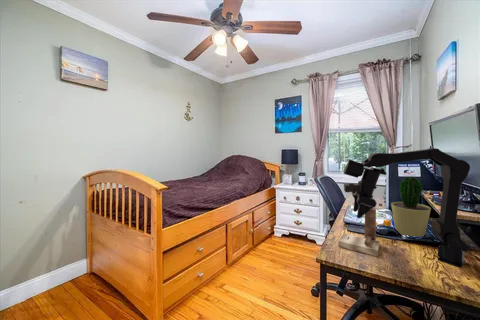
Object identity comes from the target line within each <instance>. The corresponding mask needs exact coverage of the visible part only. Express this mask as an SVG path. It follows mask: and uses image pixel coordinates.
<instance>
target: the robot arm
mask: <svg viewBox="0 0 480 320" xmlns="http://www.w3.org/2000/svg"><path fill="white" fill-rule="evenodd" d="M420 160H421V161H422V160H431V162H433V163H434V164H435V165H437V166H439V169H440V176H441V178H442V180H443V185H442V186H443V187H442V195H441V202H440V208H439V209H440V210H439V211H440V213H439V216H438V218H437V219H436V220H435V219H432V220H431V227H430V229H431V231H432V234H434V236H436V238H438V239H439V241H441V242H439V246H437V260H438V261H440V262H443V263H447V264H449V265H451V266H452V265H453V266H456V267H459V268H462V267H463V266H464V265H465V264H466V260H465V253H466V252H468V251H469V249H470V245H468V244H467V243H466V242H465V241H463V239H462V236H461V229H460V227H459V225H458V222H457V220H458V212H459V211H458V210H459V205H460V204H459V203H460V198H461V197H460V196H461V189H462V184H463V183H464V182H465V180H466V179H467V178H468V176H469V173H470V170H471V165H470V164H469V163H468V162H467V160H463V159H458V158H456V157H454V156H452V155H450V154H448V153H446V152H443V151H442V150H441V149H439V148H435V147H428V148H426V149H418V150H409V151H402V152H401V151H400V152H394V153H392V152H391V153H390V152H388V153H387V152H372V153H370V154H369V155H368V157H367V158H366V159H364V161H362V162H359V161H354V160H353V159H348V161H347V163H346V165H345V166H344V169H343V174H344V175H345V176H349V177H353V178H357V179H358V178H359V177H361V179H360V180H358V182H357V183H354V182H352V183H350V182H346V183H343V190H344V193H351V196H352V198H353V199H354V202H353V212H355V213H356V212H357V213H356V218H357V219H361V218H362V217H363V216H365V214H366V213H367V212H368V211H369V210H371V209H372V208H376V206H377V203H378V202H377V201H376V200H375V198H373V197H374V195H373V194H374V191H375V190H376V189H377V188H378V187H377V186H376V185H378V184H377V183H378V181H379V178H380V175H384V176H387V173H386V171H385V168H383V167H386V166H390V165H392V164H396V163H403V162H404V163H405V162H412V161H420Z"/></svg>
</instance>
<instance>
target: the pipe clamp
mask: <svg viewBox="0 0 480 320" xmlns="http://www.w3.org/2000/svg"><path fill="white" fill-rule="evenodd" d="M377 224H379V223H378V222H377V221H376V225H377ZM381 224H382V225H385V226H392V227H393V228H394V226H393V225H392V221H391V220H389V219H385V220H383V222H382V223H381Z"/></svg>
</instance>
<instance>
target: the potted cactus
mask: <svg viewBox="0 0 480 320" xmlns="http://www.w3.org/2000/svg"><path fill="white" fill-rule="evenodd" d="M398 192H399V193H398V194H400V199H401V201H396V202H395V201H394V202H391V203H390V204H391V210H392V217H393V223H394V228H395V229H396V230H397V231H398V232H399V233H400V234H401V235H408V236H413V237H414V236H415V237H417V236H424V235H425V236H426V232H427V228H428V223H429V218H430V214H431V210H432V208H431V207H430V206H428V205H425V204H422V203H421V204H420V203H419V201H420V196H421V195H422V194H424V191H423V183H421V181H420V180H419V179H418V178H417V177H414V176H406V177H405V178H403V179H402V180H401V181H400V182H399V190H398ZM395 229H394V230H395Z"/></svg>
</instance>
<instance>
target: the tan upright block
mask: <svg viewBox="0 0 480 320" xmlns="http://www.w3.org/2000/svg"><path fill="white" fill-rule="evenodd" d="M376 222H377V208H376V207H374V208H372V209H371V210H369V211H368V212H367V213H366V214H364V238H366V239H365V242H364V245H368V246H369V245H370V242H371V240H376V241H377V239H376V236H377V234H376V233H377V232H376V231H377V229H376Z"/></svg>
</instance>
